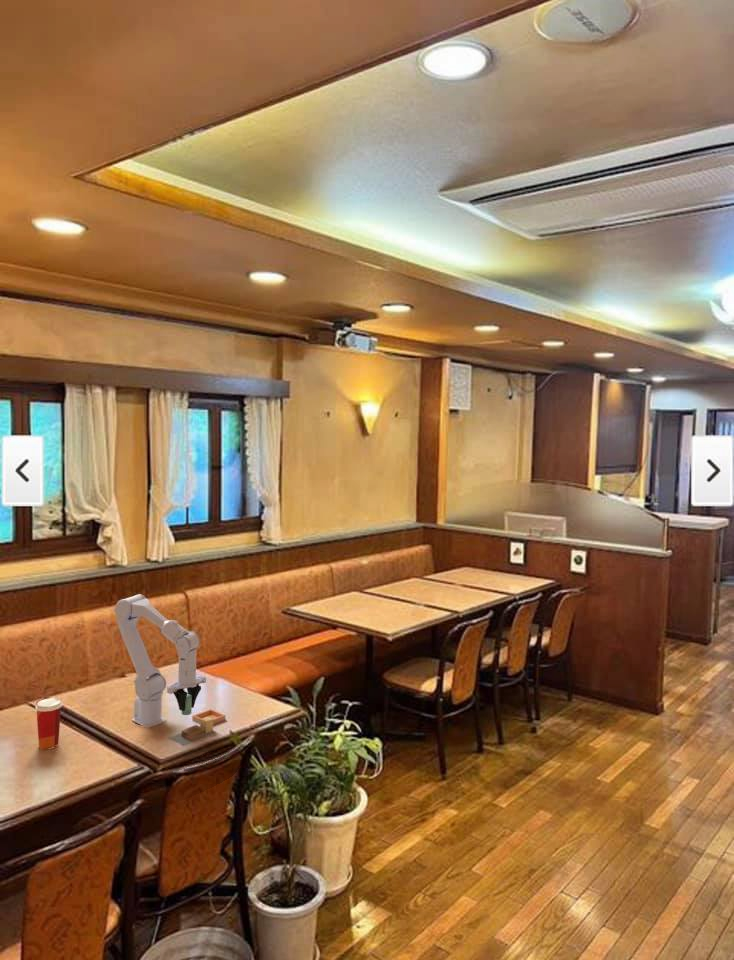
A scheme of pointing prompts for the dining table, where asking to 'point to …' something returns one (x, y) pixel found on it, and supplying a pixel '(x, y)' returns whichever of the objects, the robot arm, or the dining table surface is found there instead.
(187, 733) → the brown rectangular block
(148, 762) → the dining table surface
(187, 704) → the dowel
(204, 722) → the bench
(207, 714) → the tray
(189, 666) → the robot arm
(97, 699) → the dining table surface
